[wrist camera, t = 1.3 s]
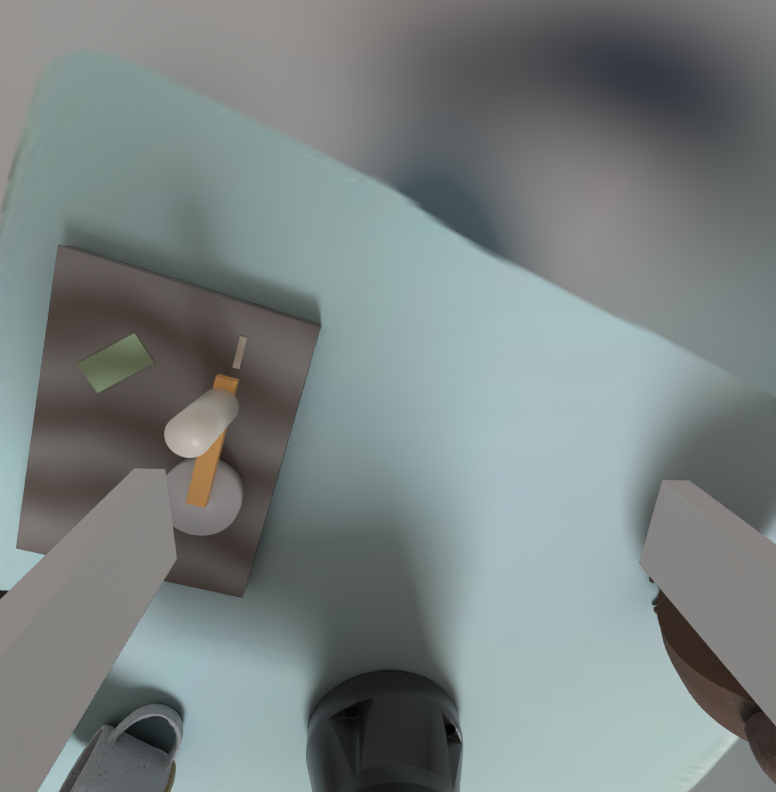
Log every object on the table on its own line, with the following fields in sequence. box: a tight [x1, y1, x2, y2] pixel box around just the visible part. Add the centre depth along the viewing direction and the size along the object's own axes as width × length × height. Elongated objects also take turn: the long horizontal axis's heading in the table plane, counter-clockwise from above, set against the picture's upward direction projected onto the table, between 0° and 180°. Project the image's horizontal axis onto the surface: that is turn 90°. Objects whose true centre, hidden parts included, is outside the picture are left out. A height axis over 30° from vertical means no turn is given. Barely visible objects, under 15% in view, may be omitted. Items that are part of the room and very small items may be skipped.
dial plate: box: [16, 245, 321, 598], centre depth 35 cm, size 24×18×2 cm
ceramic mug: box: [59, 703, 183, 792], centre depth 40 cm, size 11×8×8 cm
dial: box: [164, 374, 245, 536], centre depth 30 cm, size 13×6×8 cm, turn 162°
